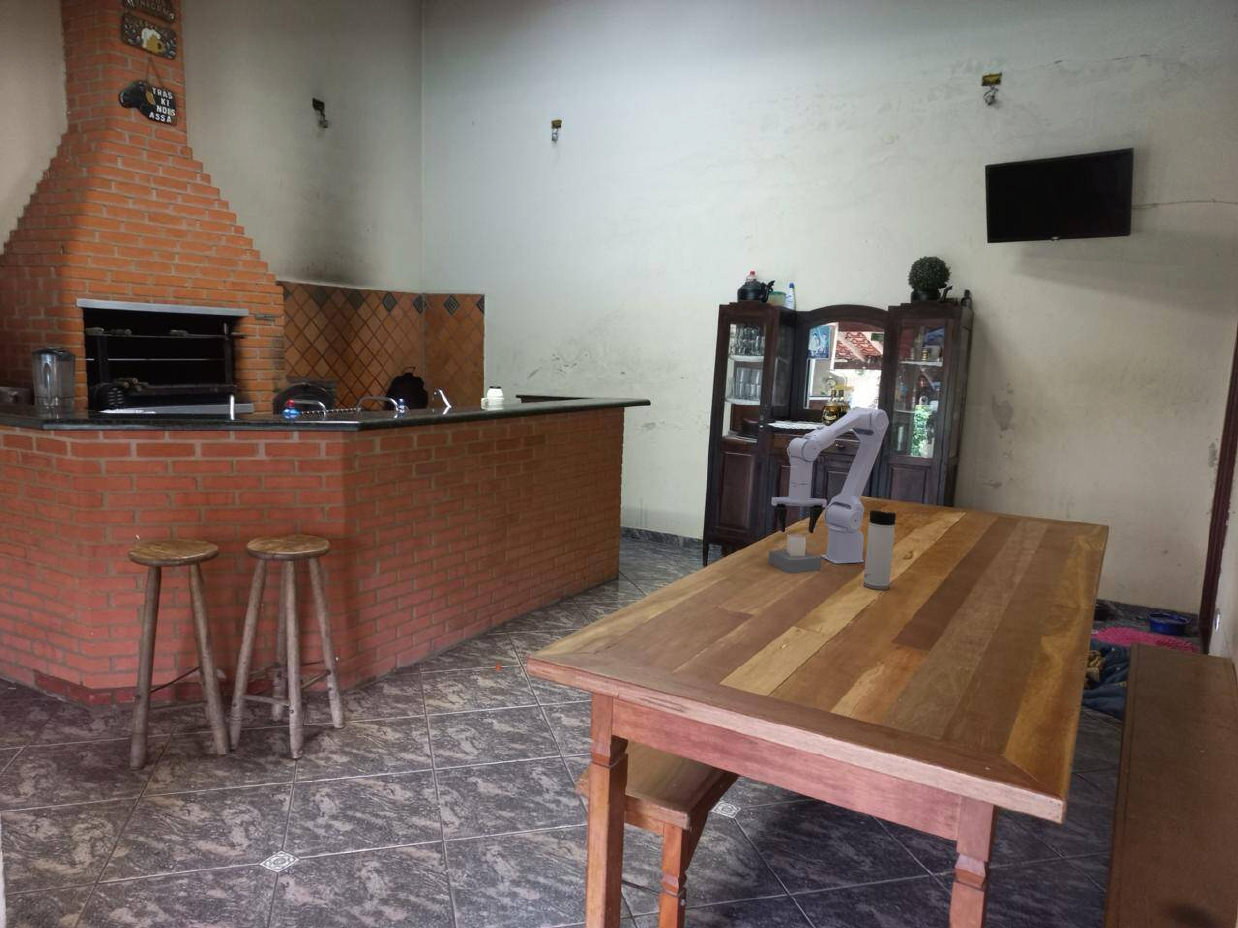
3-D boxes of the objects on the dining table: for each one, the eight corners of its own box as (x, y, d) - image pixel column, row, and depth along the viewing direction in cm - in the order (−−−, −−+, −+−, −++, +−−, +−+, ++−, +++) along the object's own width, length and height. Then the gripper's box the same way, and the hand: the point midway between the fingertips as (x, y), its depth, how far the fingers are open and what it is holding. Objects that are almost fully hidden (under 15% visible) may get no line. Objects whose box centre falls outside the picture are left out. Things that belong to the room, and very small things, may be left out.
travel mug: (860, 587, 196) (867, 510, 193) (865, 581, 202) (872, 506, 199) (886, 592, 193) (894, 513, 190) (890, 585, 199) (898, 509, 196)
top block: (804, 556, 210) (806, 538, 209) (790, 555, 210) (791, 537, 209) (800, 552, 214) (802, 534, 213) (786, 551, 214) (787, 534, 213)
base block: (798, 561, 219) (799, 548, 219) (820, 571, 210) (821, 557, 209) (768, 564, 215) (769, 550, 215) (789, 574, 206) (790, 560, 206)
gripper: (823, 481, 213) (819, 529, 215) (770, 479, 213) (767, 527, 215) (830, 485, 206) (826, 535, 208) (776, 483, 206) (772, 533, 208)
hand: (796, 531), depth 211 cm, fingers open, 7 cm apart
